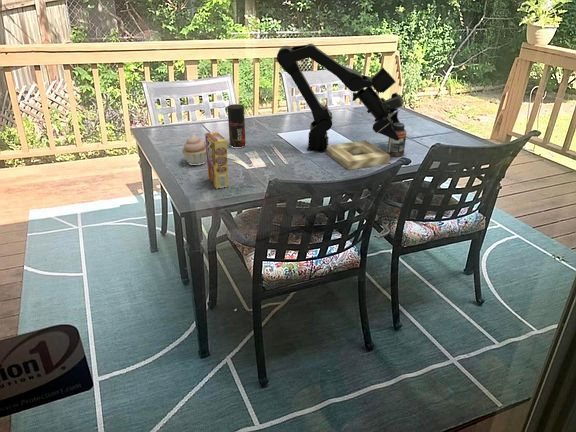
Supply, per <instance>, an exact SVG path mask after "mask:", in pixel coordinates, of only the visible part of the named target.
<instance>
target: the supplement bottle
mask: <svg viewBox="0 0 576 432" xmlns="http://www.w3.org/2000/svg"><path fill="white" fill-rule="evenodd" d="M393 128H394V130H395V132H396V133H397V135H398V137H399V138H400V140H398V141H396V140H394V139H392V138H390V137H388V142H387V143H388V144H387V151H386V153H387V154H389V155H390V157H395V158H398V157H399V158H400V157H402V156H403V155H404V154H405V148H406V139H407V131H406V129H405V123H403V122H400V123H394V124H393Z"/></svg>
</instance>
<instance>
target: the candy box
mask: <svg viewBox="0 0 576 432" xmlns="http://www.w3.org/2000/svg"><path fill="white" fill-rule="evenodd" d="M204 136H205V137H204V138H205V144H206V154H207V158H206V164H207V165H206V167H207V177H208V178H209V179H210V180H209V179H208V178H207V179H208V180H209V182H210V183H211V182H212V183H213V184H214V185H213V184H212V183H211V184H212V185H213V186H214V188H215V189H216V190H218V188H220V189H225V188H228V187H229V167H228V165H229V164H228V142H227V141H228V140H227V139H226V138H225V137H224V136H222V135H221V133H219V132H217V131H210V132H206V133H205V134H204ZM224 187H225V188H224Z"/></svg>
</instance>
